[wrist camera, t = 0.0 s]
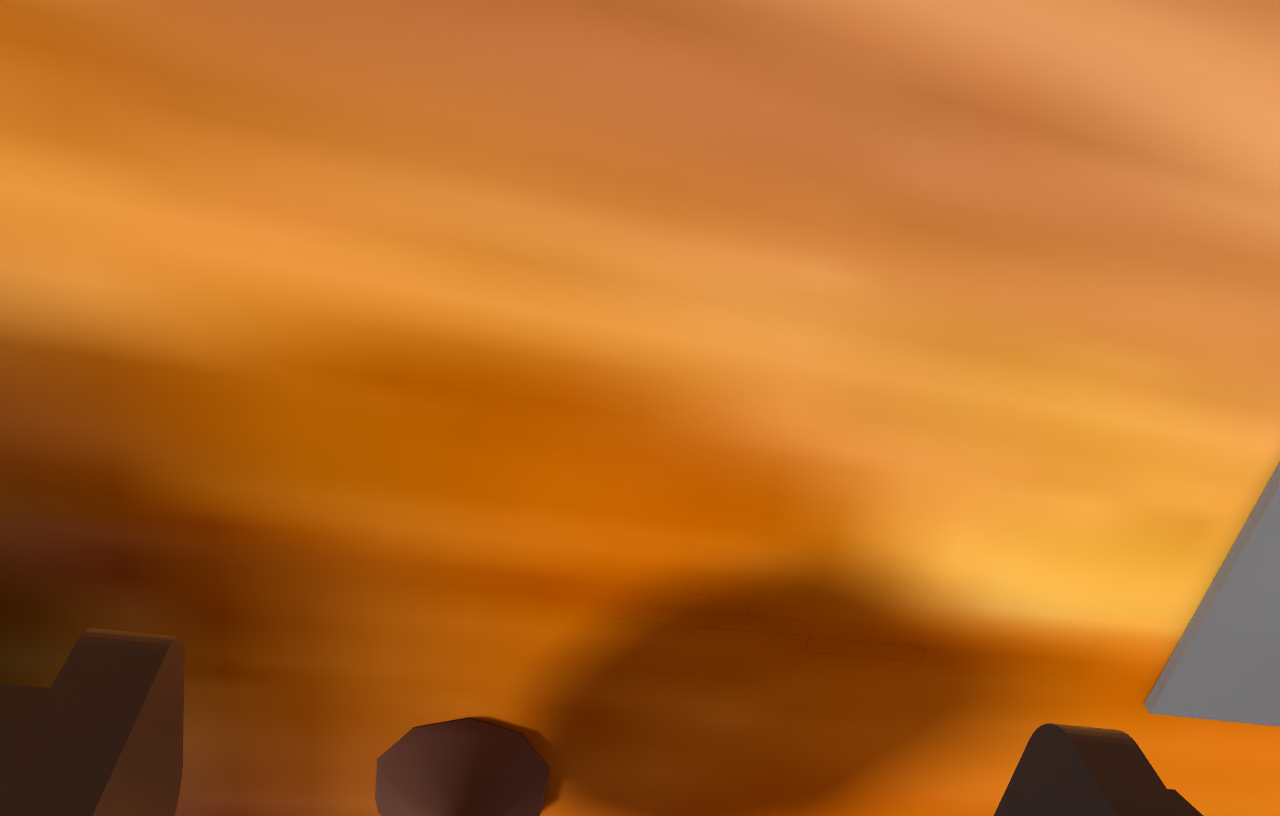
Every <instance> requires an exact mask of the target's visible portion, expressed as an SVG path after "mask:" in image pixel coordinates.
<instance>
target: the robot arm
mask: <svg viewBox="0 0 1280 816" xmlns="http://www.w3.org/2000/svg"><path fill="white" fill-rule="evenodd" d="M183 714H184V644H183V640H182V639H181V637H178V636H168V635H158V634H147V633H137V632H127V631H116V630H106V629H96V628H90V629H87V630H86V631H85V632H84V633H83V634H82V635H81V636H80V638H79V639H78V641H77V643H76V644H75V646H74V648H73V650H72V651H71V653H70V655H69V657H68V658H67V660H66V662H65V664H64V665H63V667H62V669H61V670H60V672H59V674H58V676H57V677H56V679H55V681H54V683H53V684H52V686H51V688H43V687H32V686H21V685H9V684H5V685H4V686H3V687H1V688H0V816H175V812H176V808H177V803H178V798H179V792H180V786H181V778H182V766H183ZM994 816H1203V815H1202V814H1201V813H1200V812H1199V811H1197V810H1196V809H1195V808H1194V807H1193V806H1192V805H1191V804H1190V803H1189V802H1188V801H1186V800H1185V799H1184V798H1183V797H1182V796H1181V795H1180V794H1179V793H1178V792H1177V791H1176V790H1173V789H1167V788H1166V787H1165V785H1164V784H1163V782H1162V781H1161V779H1160V778H1159V776H1158V775H1157V773H1156V772H1155V770H1154V769H1153V767H1152V766H1151V764H1150V763H1149V761H1148V760H1147V758H1146V757H1145V755H1144V754H1143V752H1142V751H1141V749H1140V748H1139V746H1138V745H1137V744H1136V742H1135V741H1134V740H1133V739H1132V738H1131V737H1130V736H1129V735H1128V734H1126V733H1124V732H1122V731H1119V730H1113V729H1102V728H1092V727H1081V726H1071V725H1061V724H1044V725H1042V726H1040V727H1039V728H1038V729H1036V731H1035V732H1034V733H1033V734H1032V736H1031V738H1030V740H1029V742H1028V744H1027V746H1026V748H1025V750H1024V752H1023V755H1022V757H1021V759H1020V761H1019V763H1018V765H1017V767H1016V769H1015V772H1014V774H1013V776H1012V778H1011V780H1010V782H1009V784H1008V786H1007V789H1006V791H1005V793H1004V795H1003V797H1002V799H1001V801H1000V803H999V806H998V808H997V810H996V812H995V814H994Z"/></svg>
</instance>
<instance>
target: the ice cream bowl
mask: <svg viewBox="0 0 1280 816" xmlns="http://www.w3.org/2000/svg"><path fill="white" fill-rule="evenodd" d="M548 773H549V767H548V765H547V764H546V763H545V762H544V761H543V759H542V758H541V757H540V756H539V754H538V753H537V752H536V751H535V750H534V748H533V747H532V746H531V745H530V744H529V742H528V741H527V740H526V739H525V737H524V736H523V735H522V734H520V733H517V732H514V731H510V730H507V729H504V728H500V727H497V726H494V725H490V724H487V723H483V722H480V721H477V720H473V719H470V718H467V719H462V720H456V721H450V722H445V723H439V724H434V725H428V726H422V727H417V728H413V729H412V730H410V731H409V732H408V733H407V734H406V735H405V736H404V737H402V738H401V739H400V740H399V741H398V742H397V743H396V744H394V745H393V746H392V747H391V748H390V749H389V750H388V751H386V752H385V753H384V754H383V755H382V756H381V757H379V758H378V759H377V774H376V794H375V800H376V804H377V809H378V812H379V813H380V814H381V815H382V816H540V813H541V811H542V808H543V805H544V799H545V792H546V786H547V779H548Z"/></svg>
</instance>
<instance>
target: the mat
mask: <svg viewBox="0 0 1280 816" xmlns="http://www.w3.org/2000/svg"><path fill="white" fill-rule="evenodd" d="M1144 705H1145V707H1146V708H1147V710H1148V711H1149V713H1151V714H1161V715H1171V716H1181V717H1191V718H1201V719H1211V720H1221V721H1231V722H1241V723H1251V724H1261V725H1271V726H1280V463H1279V465H1278V467H1277V468H1276V470H1275V472H1274V474H1273V475H1272V477H1271V479H1270V481H1269V483H1268V484H1267V486H1266V488H1265V490H1264V491H1263V493H1262V495H1261V497H1260V499H1259V500H1258V502H1257V504H1256V506H1255V507H1254V509H1253V511H1252V513H1251V515H1250V516H1249V518H1248V520H1247V522H1246V523H1245V525H1244V527H1243V529H1242V531H1241V532H1240V534H1239V536H1238V538H1237V539H1236V541H1235V543H1234V545H1233V547H1232V548H1231V550H1230V552H1229V554H1228V555H1227V557H1226V559H1225V561H1224V563H1223V564H1222V566H1221V568H1220V570H1219V571H1218V573H1217V575H1216V577H1215V579H1214V580H1213V582H1212V584H1211V586H1210V587H1209V589H1208V591H1207V593H1206V595H1205V596H1204V598H1203V600H1202V602H1201V603H1200V605H1199V607H1198V609H1197V611H1196V612H1195V614H1194V616H1193V618H1192V620H1191V621H1190V623H1189V625H1188V627H1187V628H1186V630H1185V632H1184V634H1183V636H1182V637H1181V639H1180V641H1179V643H1178V644H1177V646H1176V648H1175V650H1174V652H1173V653H1172V655H1171V657H1170V659H1169V660H1168V662H1167V664H1166V666H1165V668H1164V669H1163V671H1162V673H1161V675H1160V676H1159V678H1158V680H1157V682H1156V684H1155V685H1154V687H1153V689H1152V691H1151V692H1150V694H1149V696H1148V698H1147V700H1146V701H1145V703H1144Z"/></svg>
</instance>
